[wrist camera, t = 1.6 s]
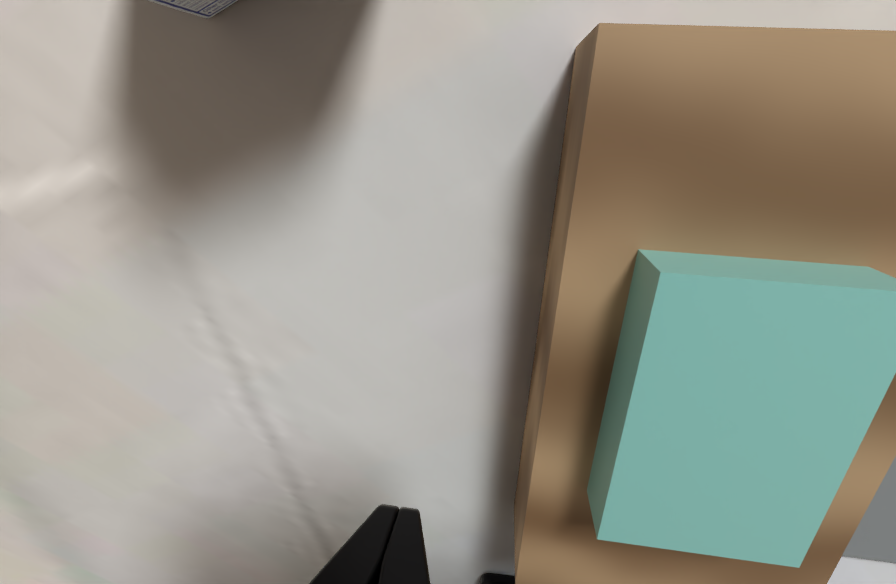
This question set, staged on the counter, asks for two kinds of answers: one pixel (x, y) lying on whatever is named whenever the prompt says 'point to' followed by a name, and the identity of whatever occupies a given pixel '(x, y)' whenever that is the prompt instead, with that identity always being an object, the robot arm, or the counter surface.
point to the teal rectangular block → (738, 402)
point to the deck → (698, 248)
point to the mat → (877, 524)
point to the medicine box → (197, 6)
